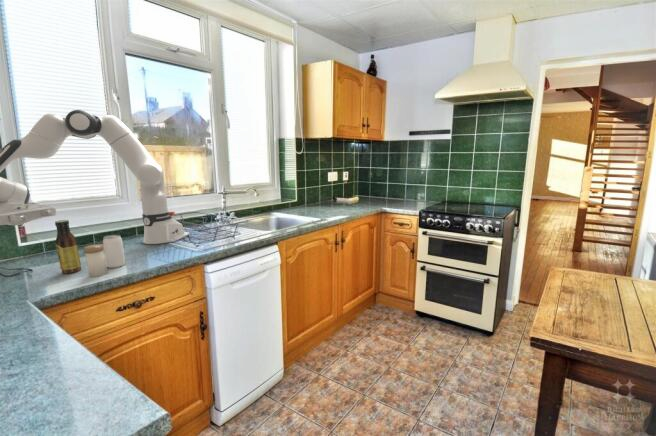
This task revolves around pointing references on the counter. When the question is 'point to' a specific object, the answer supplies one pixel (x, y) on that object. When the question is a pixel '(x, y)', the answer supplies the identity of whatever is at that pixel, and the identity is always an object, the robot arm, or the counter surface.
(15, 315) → the counter surface
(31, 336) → the counter surface
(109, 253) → the can
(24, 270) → the counter surface
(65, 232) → the sauce bottle
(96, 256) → the spice jar
